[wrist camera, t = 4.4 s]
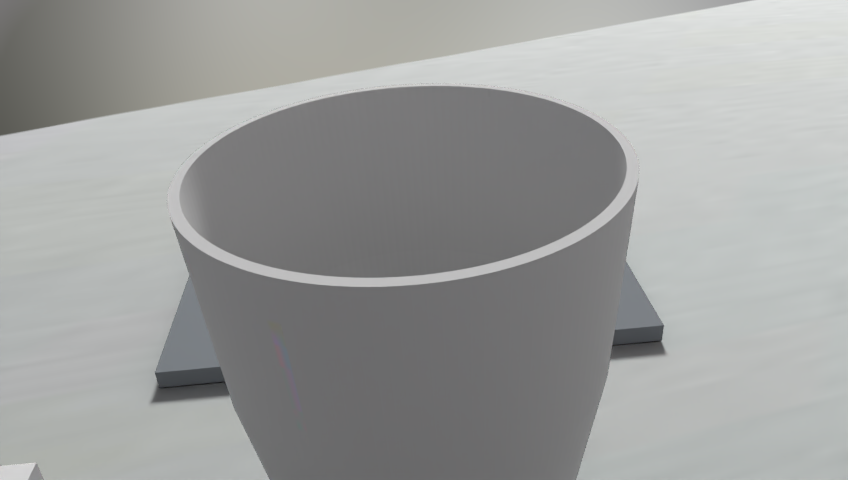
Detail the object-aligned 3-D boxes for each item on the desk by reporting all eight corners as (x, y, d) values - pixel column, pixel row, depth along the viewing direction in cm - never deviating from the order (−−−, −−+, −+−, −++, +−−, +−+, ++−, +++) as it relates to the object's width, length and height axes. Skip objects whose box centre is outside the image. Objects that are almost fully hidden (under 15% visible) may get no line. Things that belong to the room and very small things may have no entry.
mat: (159, 387, 24) (155, 372, 23) (229, 181, 37) (226, 170, 36) (661, 340, 24) (663, 325, 24) (555, 154, 37) (556, 142, 37)
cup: (676, 610, 16) (750, 198, 11) (315, 781, 14) (205, 351, 9) (502, 385, 23) (500, 61, 18) (234, 474, 20) (145, 127, 15)
